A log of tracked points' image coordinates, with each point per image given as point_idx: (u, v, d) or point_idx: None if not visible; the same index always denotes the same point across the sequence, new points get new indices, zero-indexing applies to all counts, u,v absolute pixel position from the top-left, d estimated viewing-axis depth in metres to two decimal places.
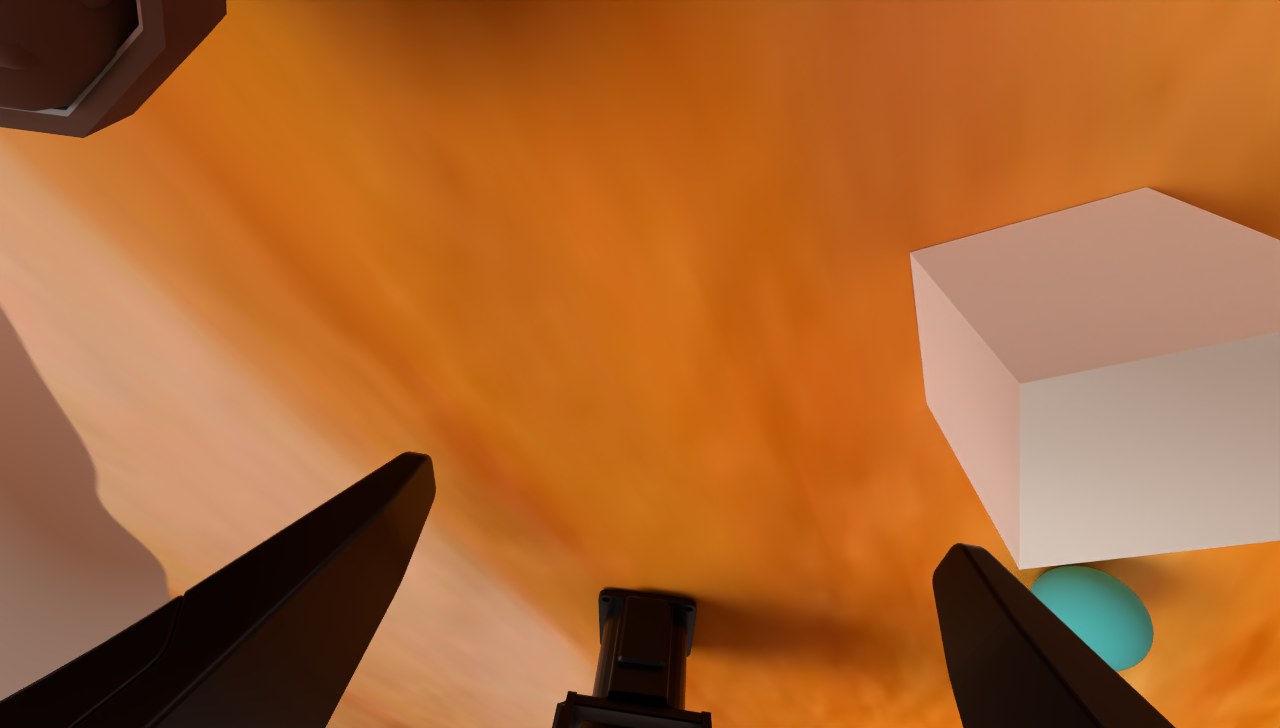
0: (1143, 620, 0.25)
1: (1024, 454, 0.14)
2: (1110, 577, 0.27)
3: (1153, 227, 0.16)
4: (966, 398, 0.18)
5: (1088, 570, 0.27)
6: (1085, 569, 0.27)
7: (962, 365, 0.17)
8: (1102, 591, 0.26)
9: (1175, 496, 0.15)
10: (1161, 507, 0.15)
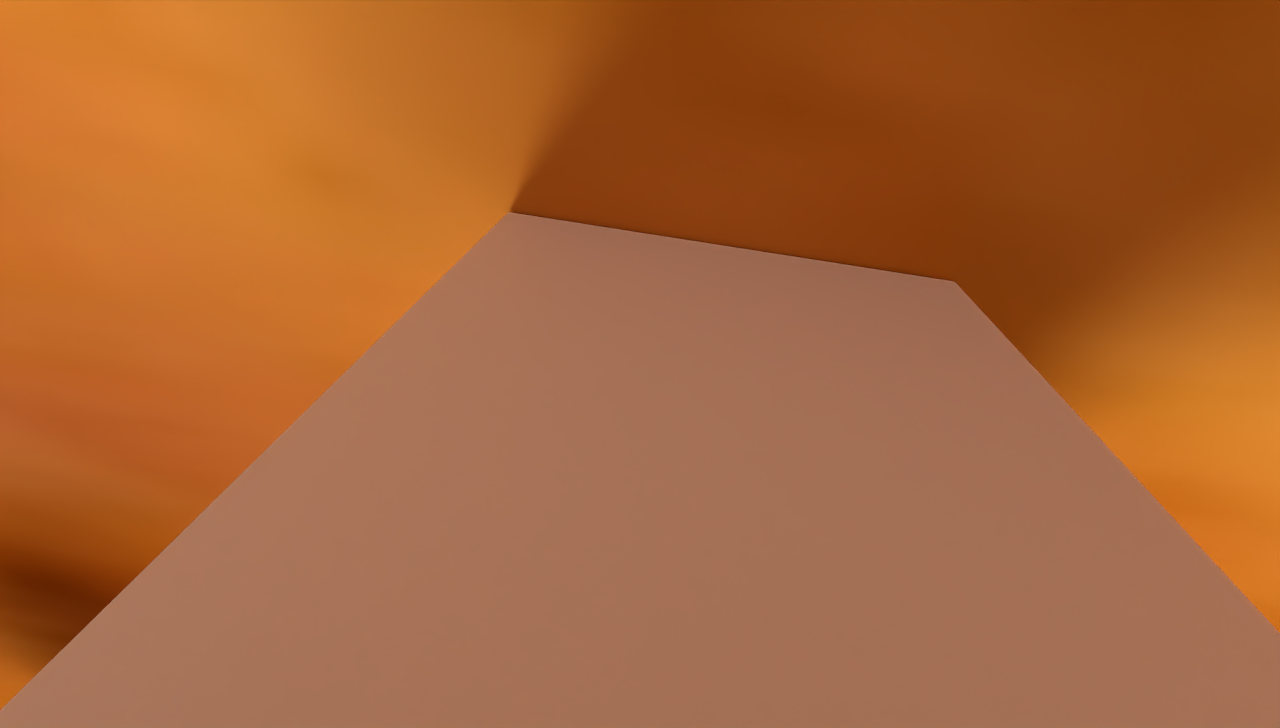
0: None
1: None
2: None
3: None
4: None
5: None
6: None
7: None
8: None
9: None
10: None
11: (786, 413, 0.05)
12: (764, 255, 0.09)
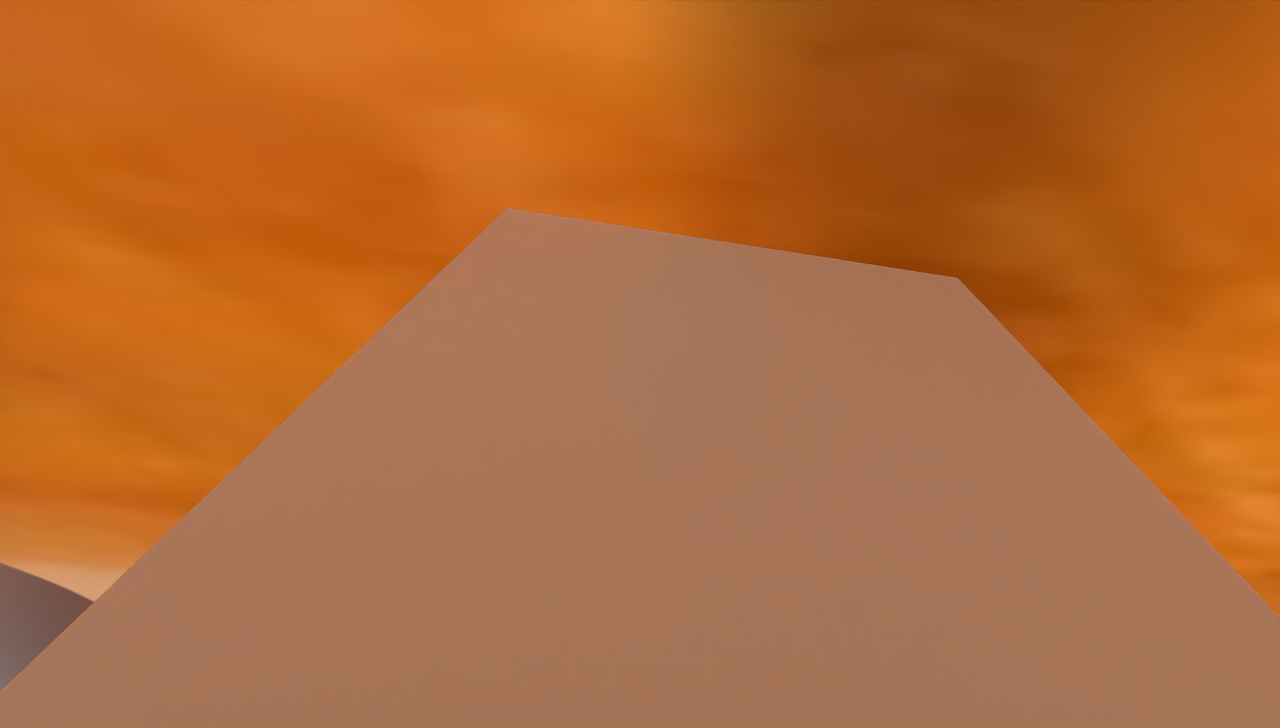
0: None
1: None
2: None
3: None
4: None
5: None
6: None
7: None
8: None
9: None
10: None
11: (788, 409, 0.05)
12: (765, 251, 0.09)
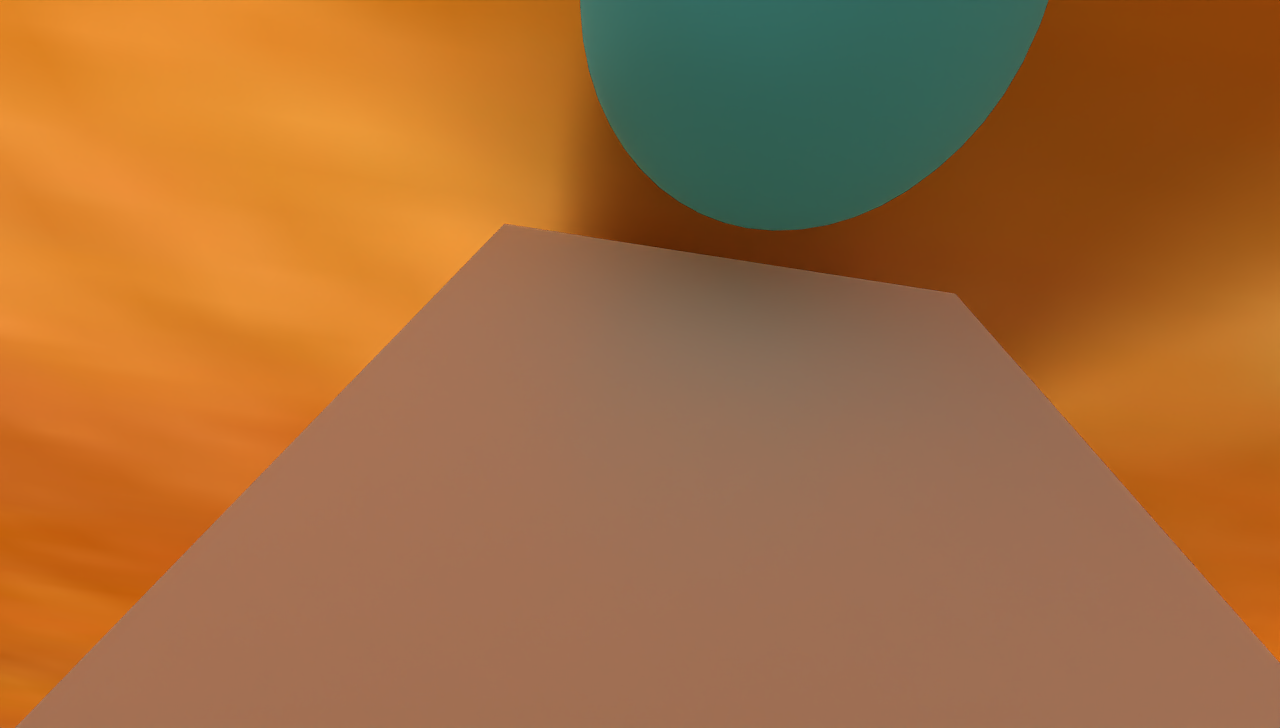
0: None
1: None
2: (609, 113, 0.06)
3: None
4: None
5: (593, 24, 0.05)
6: (597, 15, 0.05)
7: None
8: None
9: None
10: None
11: (784, 437, 0.05)
12: (762, 267, 0.09)
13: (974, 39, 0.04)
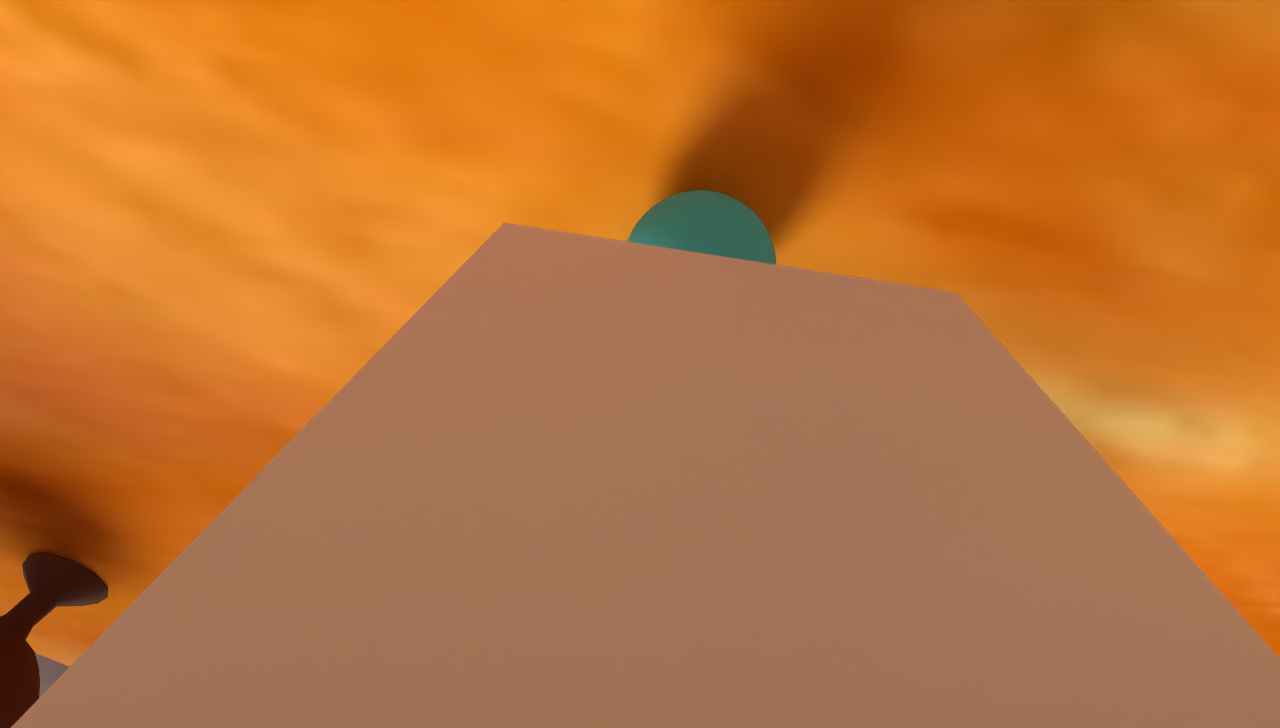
0: None
1: None
2: None
3: None
4: None
5: None
6: None
7: None
8: None
9: None
10: None
11: (784, 436, 0.05)
12: (763, 267, 0.09)
13: None
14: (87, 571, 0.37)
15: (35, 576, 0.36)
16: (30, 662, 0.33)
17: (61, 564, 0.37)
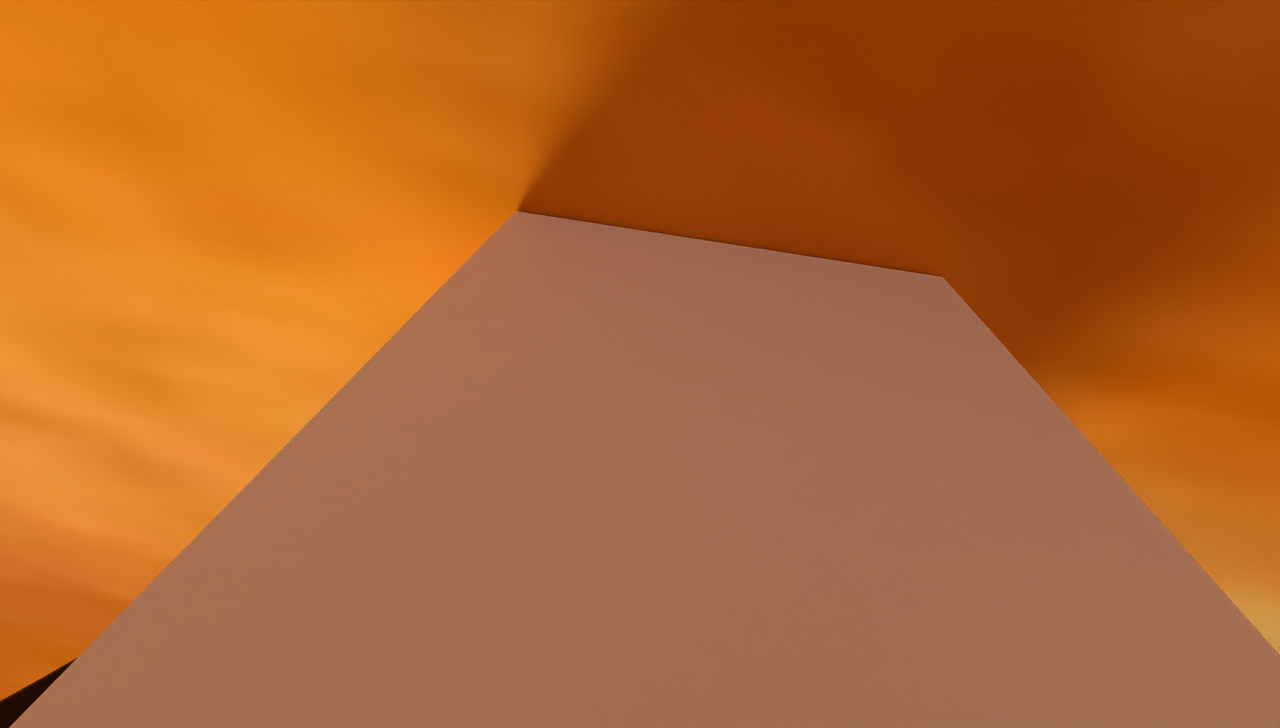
0: None
1: None
2: None
3: None
4: None
5: None
6: None
7: None
8: None
9: None
10: None
11: (778, 397, 0.06)
12: (760, 252, 0.09)
13: None
14: None
15: None
16: None
17: None
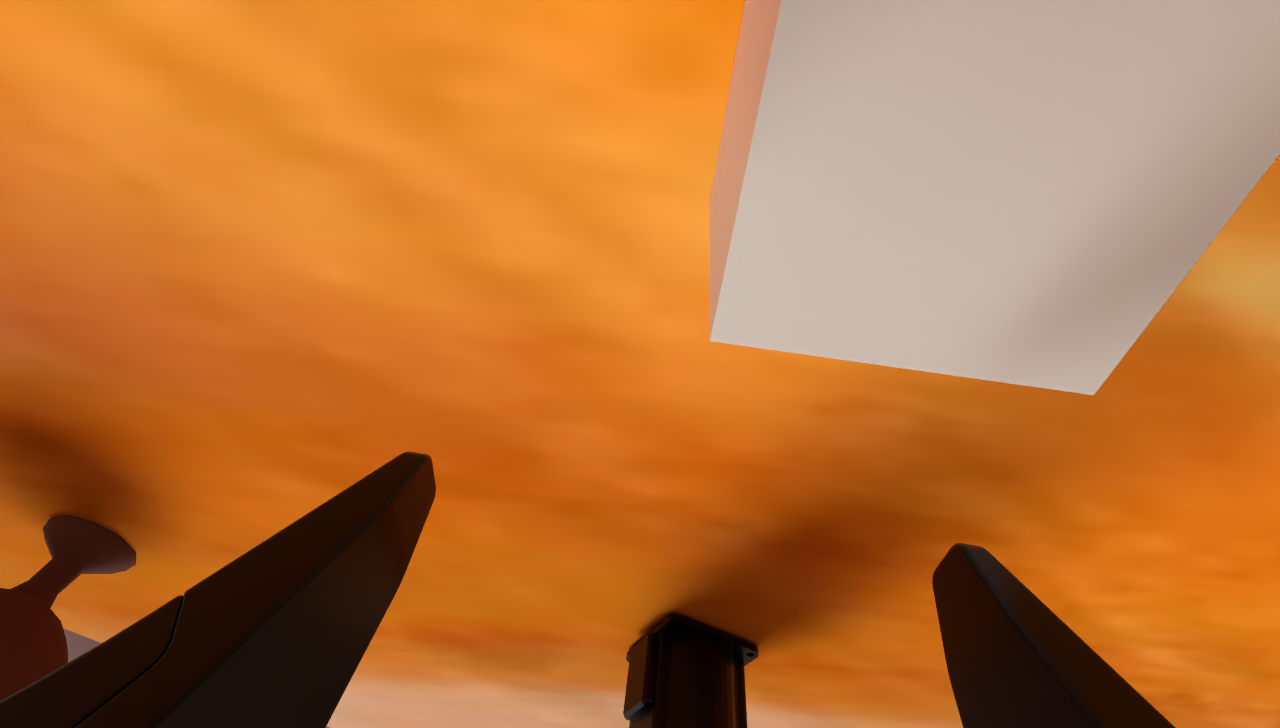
0: None
1: (835, 353, 0.11)
2: None
3: None
4: None
5: None
6: None
7: None
8: None
9: (1075, 184, 0.08)
10: (1089, 204, 0.08)
11: None
12: None
13: None
14: (113, 535, 0.34)
15: (57, 541, 0.33)
16: (56, 631, 0.30)
17: (85, 527, 0.33)
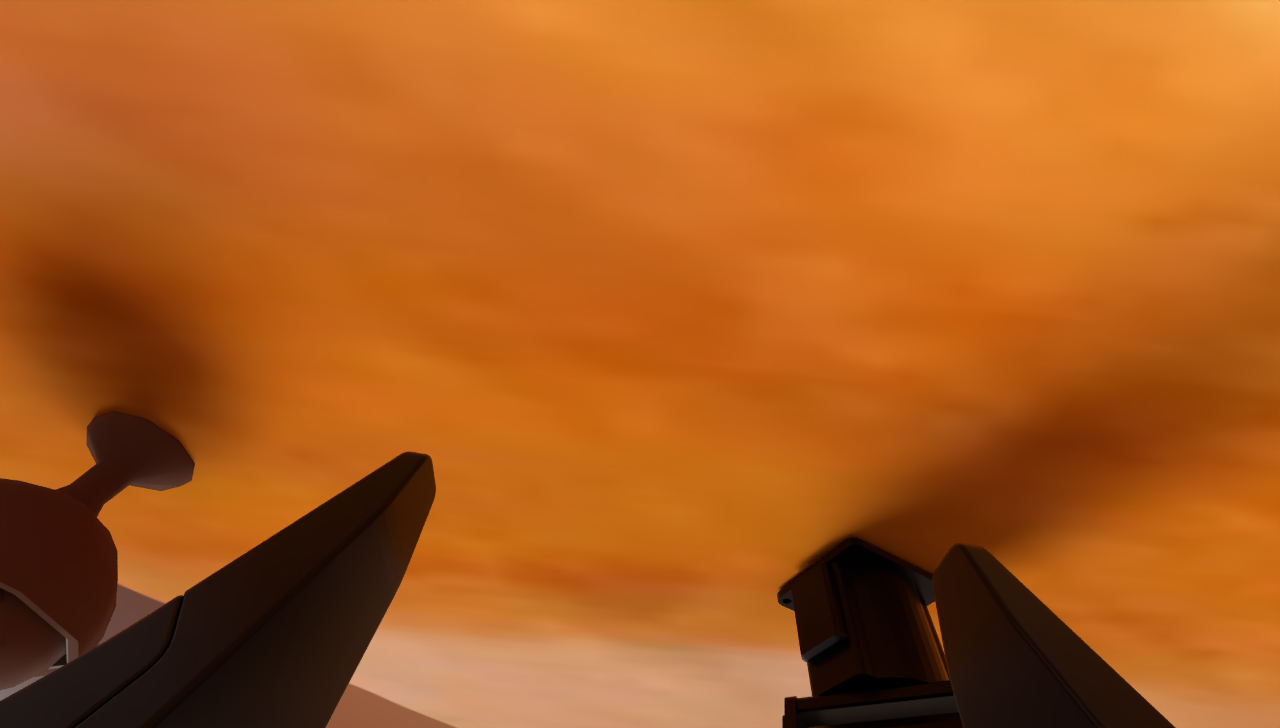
0: None
1: None
2: None
3: None
4: None
5: None
6: None
7: None
8: None
9: None
10: None
11: None
12: None
13: None
14: (171, 438, 0.28)
15: (104, 441, 0.27)
16: (107, 541, 0.25)
17: (139, 426, 0.28)
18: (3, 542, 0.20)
